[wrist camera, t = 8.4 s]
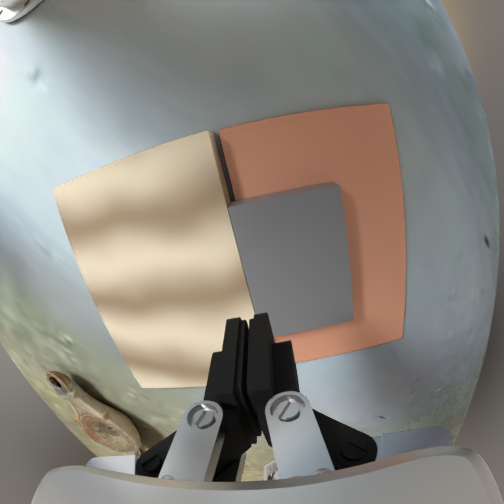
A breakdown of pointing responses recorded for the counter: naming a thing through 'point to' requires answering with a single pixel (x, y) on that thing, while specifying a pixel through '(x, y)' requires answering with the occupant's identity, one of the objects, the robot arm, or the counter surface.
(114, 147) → the counter surface
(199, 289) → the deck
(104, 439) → the oil lamp
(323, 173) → the mat
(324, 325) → the tile
